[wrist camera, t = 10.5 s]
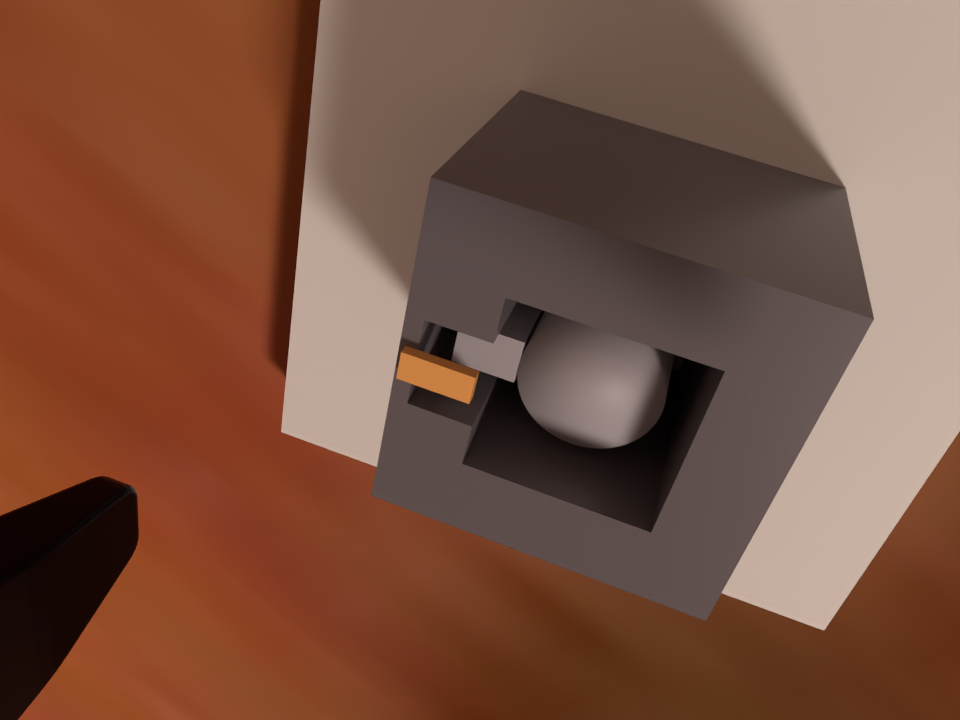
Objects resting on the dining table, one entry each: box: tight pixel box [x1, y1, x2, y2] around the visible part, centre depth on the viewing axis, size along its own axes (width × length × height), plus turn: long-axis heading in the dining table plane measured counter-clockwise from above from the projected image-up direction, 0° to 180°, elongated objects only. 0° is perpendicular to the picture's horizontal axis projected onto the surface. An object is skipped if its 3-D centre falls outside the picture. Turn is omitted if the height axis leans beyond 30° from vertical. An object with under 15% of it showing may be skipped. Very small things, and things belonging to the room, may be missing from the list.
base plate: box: [281, 0, 960, 630], centre depth 16 cm, size 14×14×6 cm
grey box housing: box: [372, 90, 874, 621], centre depth 15 cm, size 6×6×5 cm
